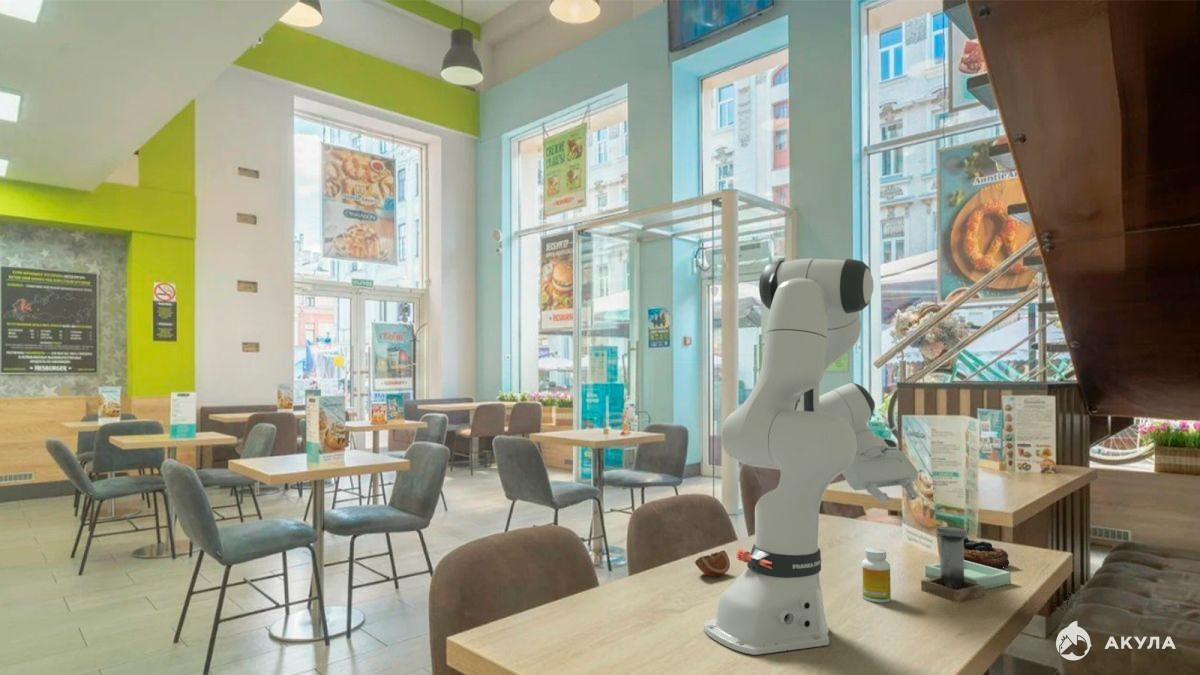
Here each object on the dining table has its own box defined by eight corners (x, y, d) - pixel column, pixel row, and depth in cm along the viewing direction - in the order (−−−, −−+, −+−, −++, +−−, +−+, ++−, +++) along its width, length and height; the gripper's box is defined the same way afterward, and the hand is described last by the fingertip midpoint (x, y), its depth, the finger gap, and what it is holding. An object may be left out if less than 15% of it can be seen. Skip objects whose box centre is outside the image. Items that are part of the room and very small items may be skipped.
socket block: (958, 602, 136) (958, 592, 136) (921, 590, 144) (921, 580, 144) (984, 595, 140) (984, 585, 140) (946, 584, 147) (946, 574, 148)
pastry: (973, 555, 171) (972, 531, 171) (1017, 568, 160) (1016, 543, 160) (939, 559, 167) (939, 535, 168) (982, 573, 156) (982, 547, 156)
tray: (976, 592, 142) (976, 580, 142) (925, 576, 153) (925, 565, 153) (1010, 583, 148) (1010, 572, 148) (959, 569, 159) (958, 558, 159)
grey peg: (956, 599, 138) (955, 534, 139) (931, 591, 143) (930, 528, 143) (973, 594, 141) (972, 531, 141) (948, 587, 146) (947, 525, 146)
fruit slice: (709, 582, 148) (709, 559, 148) (687, 575, 153) (687, 552, 154) (735, 575, 153) (735, 553, 153) (713, 568, 159) (713, 546, 159)
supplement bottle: (893, 604, 135) (892, 554, 135) (864, 602, 136) (864, 552, 136) (887, 595, 140) (886, 547, 141) (860, 593, 141) (859, 546, 142)
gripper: (840, 445, 156) (876, 496, 147) (900, 441, 165) (938, 488, 156) (825, 462, 159) (860, 512, 150) (885, 457, 169) (921, 504, 160)
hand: (900, 500), depth 153 cm, fingers open, 8 cm apart
